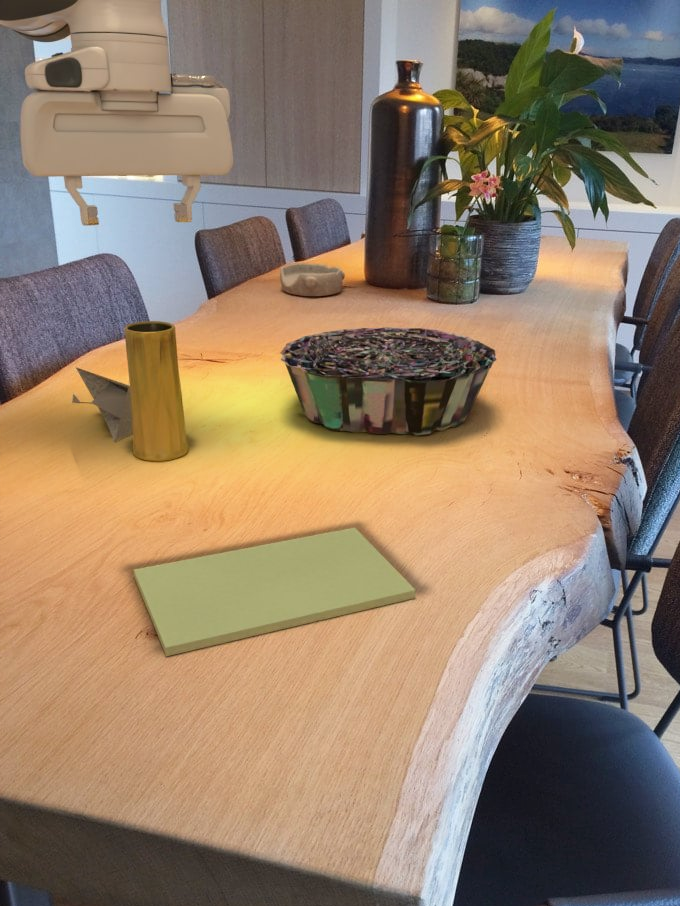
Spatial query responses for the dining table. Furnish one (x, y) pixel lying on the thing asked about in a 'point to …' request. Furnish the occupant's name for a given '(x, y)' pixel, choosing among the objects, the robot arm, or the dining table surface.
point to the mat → (266, 589)
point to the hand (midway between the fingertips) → (137, 223)
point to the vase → (155, 391)
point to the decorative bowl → (387, 378)
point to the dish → (311, 279)
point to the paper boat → (110, 402)
